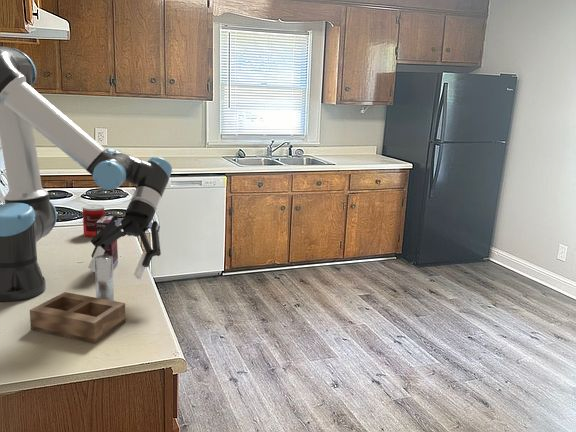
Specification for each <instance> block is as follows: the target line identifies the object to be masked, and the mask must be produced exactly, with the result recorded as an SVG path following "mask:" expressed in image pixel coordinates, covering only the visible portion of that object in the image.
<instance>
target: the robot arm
mask: <svg viewBox="0 0 576 432" xmlns="http://www.w3.org/2000/svg"><path fill="white" fill-rule="evenodd" d="M36 80H37V68H36V65H35V64H34V62H33V60H32V59H31V58H30V57H29V56H28V55H27V54H26V53H25V52H22V51H21V50H19V49H17V48H15V47H9V46H0V145H1V150H2V151H1V152H2V156H3V161H4V168H5V169H4V170H5V174H6V179H7V180H6V181H7V186H8V192H7V193H6V194H5V196H4V197H3V200H4V203H3V204H0V302H16V301H22V300H26V299H31V298H34V297H36V296H38V295H41V294H42V293H44V291H45V290H46V289H47V288H46V287H47V286H46V285H47V284H46V279H45V277H44V275H43V272H42V270H41V267H40V264H39V263H38V254H37V253H38V252H37V242H39V241H40V240H41V239H42V238H44V237H46V236H47V235H49V234H50V232H51V231H52V230H53V228H54V227H55V225H56V222H57V220H58V213H57V210H56V206H55V205H54V203H53V202H51V201H50V194H49V192H48V191H47V190H46V189H44V188H43V186H42V178H41V173H40V165H39V160H38V159H39V158H38V153H37V146H36V140H35V138H36V137H35V132H34V129H35V130H36V131H37V132H38V133H40V134H41V135H42V136H43V137H44V138H46V139H47V140H48V141H49V142H51V143H52V144H53V146H55V147H57V149H59V150H61V151H62V152H63V153H64V154H65V155H67V156H68V158H70V159H72V160H73V161H74V162H75V163H76V164H78V165H79V166H80V167H82V168H83V169H84V170H85V171H86V172H88V173H89V174H90V175H91V176H92V178H93V181H94V183H95V184H96V185H97V186H98V187H99V188H100V189H103V190H106V191H107V190H109V191H110V190H114V189H117V188H119V187H120V186H122V185H123V184H124V183H125V182H127V183H129V184H132V185H134V186H136V188H135V190H134V192H133V193H132V197H131V199H130V202H129V204H128V206H127V207H126V211H125V214H124V216H123V217H122V218H119V217H118V216H117V215H113V218H112V220H111V221H110V223H109V224H107V225H106V226H105V227H104V228H103V229H102V230H101V231H100V232H99V233H98V234H97V235H96V236H95V237H92V239H91V240H90V243H91V244H92V245H93V246H94V249H93V250H92V253H91V260H90V263H89V265H88V268H89V270H90V271H92V272H93V273H95V257H97V256H100V255H103V254H104V252H105V251H104V248H105V247H107V246H108V245H110V244H111V243H113V242H114V241H116V240H117V241H118V240H119V239H120V238H122V237H125V236H129V237H132V236H133V237H139V238H140V240H141V242H142V245H143V247H144V250H145V252H142V254H141V257H139V258H140V259H139V261H138V264H137V266H136V269H135V271H134V273H133V275H134V276H135V278H136V279H137V280H141V279H142V277H143V274H144V271H145V269H146V268H149V265H150V264H151V261H152V259H153V257H156V256H157V257H159V256H161V254H162V253H161V244H160V236H159V235H160V234H159V232H160V228H161V226H160V225H159V223H158V221H156V220H153V219H154V216H155V214H156V211H157V209H158V207H159V204H160V202H161V199H162V197H163V195H164V193H165V191H166V188H167V186H168V184H169V181H170V178H171V176H172V175H171V174H172V173H173V166H172V165H171V163H170V162H168V160H167V159H164V158H162V157H160V156H159V157H157V156H152V157H150V158H149V159H148V160H147V161H146V160H142V159H140V158H138V157H135V156H133V155H130V154H127V153H125V152H123V151H121V150H118V149H113V148H110V147H108V148H105V147H104V146H103V145H101V143H99V142H98V141H96V139H94V138H93V137H91V135H89V134H88V133H87V132H86V131H85V130H83V128H81V127H80V126H79V125H78V124H76V123H75V122H74V121H73V120H72V119H70V118H69V117H68V116H67V115H66V114H64V113H63V112H62V111H61V110H59V108H57V107H56V106H55V105H53V104H52V103H51V102H50V101H49V100H48V99H46V97H45V96H43V95H42V94H41V93H39V92H38V91H37V90H36V89H35V88H34V84H35V82H36ZM115 229H116V230H115ZM149 229H150V232H151V242H152V243H151V244H152V247H151V244H150V242H149V240H148V236H147V234H146V231H148V230H149ZM101 244H102V245H101Z"/></svg>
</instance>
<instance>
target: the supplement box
mask: <svg viewBox="0 0 576 432" xmlns="http://www.w3.org/2000/svg"><path fill="white" fill-rule="evenodd" d="M113 216H114V215H113ZM113 216H112V215H105V216H102V217H101V218H100V219H99V220H98V221H97V222H96V223H95V225H96V235H97V234H98V233H99V232H100V231H101V230H102V229H103V228H104V227H105V226H106V225H107V224H109V223H110V221H111V220H112V218H113ZM115 230H116V229H115ZM101 245H102V244H101ZM118 250H119V249H118V239H117V240H116V241H114V242H113V243H111V244H110V245H108V246H107V247H105V248H104V251H105V252H104V254H103V255H110V256H112V257H113V271H114V270H115V269H116V267H117V266H118V264H119V255H118Z"/></svg>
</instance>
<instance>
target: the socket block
mask: <svg viewBox="0 0 576 432" xmlns="http://www.w3.org/2000/svg"><path fill="white" fill-rule="evenodd" d="M29 319H30V321H29V322H30V330H31V331H34V332H40V333H45V334H49V335H53V336H58V337H63V338H66V339H67V338H68V339H73V340H77V341H83V342H86V343H91V344H97V343H98V342H100V341H101V340H102V339H104V338H105V337H106V336H108V335H109V334H111V333H112V332H114V331H115V330H116V329H118V328H119V327H121V326H122V325H124V324H125V323H126V319H127V318H126V303H125V302H121V301H117V300H114V301H111V300H106V299H100V298H96V296H95V297H94V296H88V295H83V294H79V293H78V294H77V293H73V292H67V291H64V292H62V293H60V294H58V295H56V296H55V297H52V298H50V299H48V300H46V301H45V302H43V303H41V304H38V305H36V306H35V307H33V308H31V309H29Z"/></svg>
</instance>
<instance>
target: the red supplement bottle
mask: <svg viewBox="0 0 576 432" xmlns="http://www.w3.org/2000/svg"><path fill="white" fill-rule="evenodd" d="M102 216H106V214H105V206H104V205H102V204H97V203H96V204H93V203H92V204H86V205H83V206H82V225H83V229H82V230H83V235H84V236H85V237H87V238H94V237H95V236H96V225H95V223H96V222H97V221H98V220H99V219H100V218H101V217H102Z"/></svg>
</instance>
